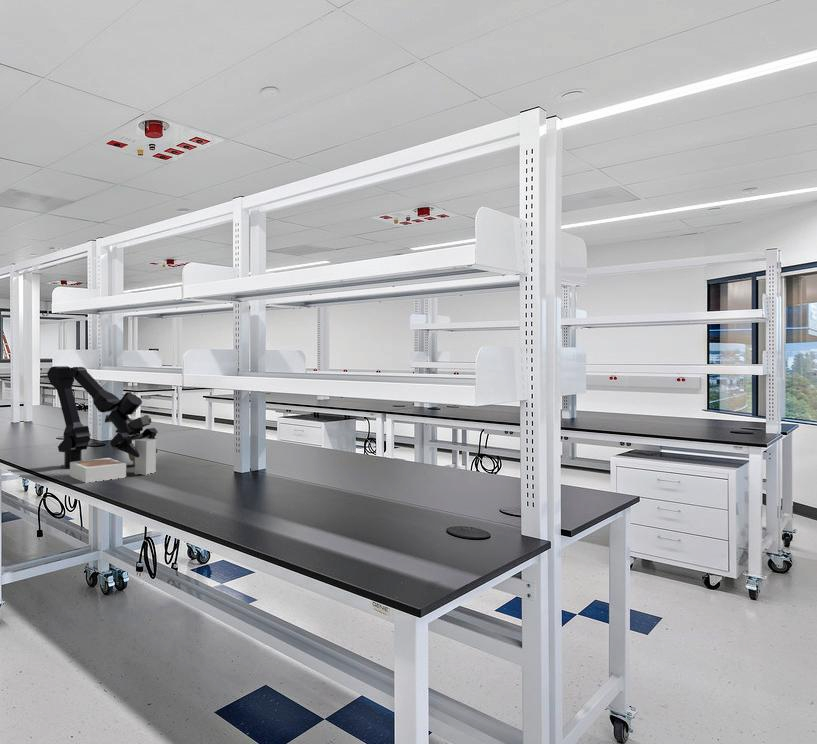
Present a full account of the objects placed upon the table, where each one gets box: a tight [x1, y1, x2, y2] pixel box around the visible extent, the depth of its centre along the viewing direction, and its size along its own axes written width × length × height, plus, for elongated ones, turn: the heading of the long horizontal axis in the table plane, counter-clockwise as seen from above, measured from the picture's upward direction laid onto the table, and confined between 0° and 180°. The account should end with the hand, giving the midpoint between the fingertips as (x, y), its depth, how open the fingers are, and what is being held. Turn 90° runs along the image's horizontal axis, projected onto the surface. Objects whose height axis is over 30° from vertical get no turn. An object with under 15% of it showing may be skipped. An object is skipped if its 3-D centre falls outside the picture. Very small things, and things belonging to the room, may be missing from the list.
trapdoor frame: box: [69, 457, 127, 484], centre depth 204 cm, size 15×13×5 cm
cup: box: [127, 445, 135, 467], centre depth 226 cm, size 8×7×8 cm
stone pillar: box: [134, 438, 157, 476], centre depth 211 cm, size 5×5×12 cm
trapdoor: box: [77, 458, 120, 467], centre depth 204 cm, size 12×10×4 cm
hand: (147, 454), depth 211 cm, fingers open, 9 cm apart
